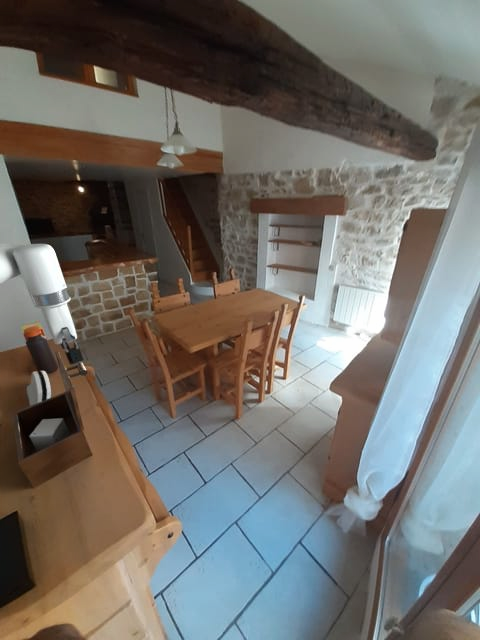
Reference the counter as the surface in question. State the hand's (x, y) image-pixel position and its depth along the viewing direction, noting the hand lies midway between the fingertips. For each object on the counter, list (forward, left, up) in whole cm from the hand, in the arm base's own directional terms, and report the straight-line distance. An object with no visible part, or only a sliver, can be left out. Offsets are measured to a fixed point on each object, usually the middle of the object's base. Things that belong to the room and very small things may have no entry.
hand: (72, 354), depth 69 cm
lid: (-2, -4, -10) cm, 11 cm away
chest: (-6, -10, -28) cm, 30 cm away
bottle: (-42, +15, -28) cm, 53 cm away
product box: (-6, -10, -27) cm, 30 cm away
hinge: (-29, +3, -28) cm, 41 cm away
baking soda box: (-53, +21, -28) cm, 64 cm away
